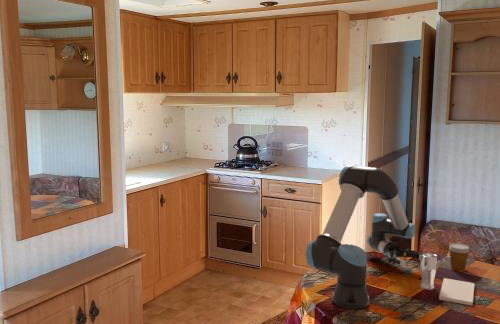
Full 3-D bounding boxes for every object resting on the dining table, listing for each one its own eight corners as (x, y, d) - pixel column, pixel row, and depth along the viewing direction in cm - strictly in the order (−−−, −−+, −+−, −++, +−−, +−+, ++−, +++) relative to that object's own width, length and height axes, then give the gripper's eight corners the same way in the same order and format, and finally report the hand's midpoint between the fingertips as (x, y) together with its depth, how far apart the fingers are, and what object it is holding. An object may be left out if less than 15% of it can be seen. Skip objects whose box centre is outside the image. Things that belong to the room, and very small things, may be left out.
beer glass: (436, 291, 210) (439, 258, 208) (420, 289, 212) (422, 257, 209) (433, 284, 217) (436, 253, 215) (418, 283, 218) (420, 252, 216)
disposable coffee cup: (469, 268, 238) (471, 245, 236) (466, 274, 230) (468, 250, 228) (449, 264, 243) (450, 241, 241) (445, 270, 235) (447, 247, 233)
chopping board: (472, 305, 196) (472, 302, 196) (438, 299, 202) (439, 296, 202) (474, 286, 215) (474, 283, 215) (443, 281, 221) (443, 278, 221)
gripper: (409, 253, 245) (438, 267, 225) (368, 258, 237) (394, 274, 217) (410, 239, 244) (439, 252, 224) (368, 244, 235) (395, 258, 216)
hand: (417, 263), depth 220 cm, fingers open, 13 cm apart
